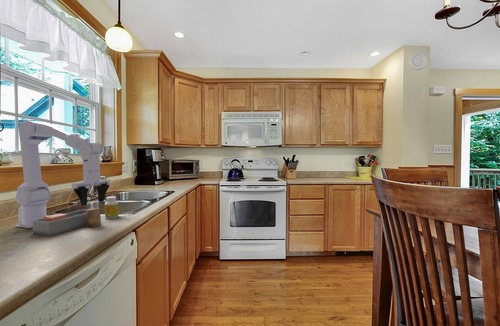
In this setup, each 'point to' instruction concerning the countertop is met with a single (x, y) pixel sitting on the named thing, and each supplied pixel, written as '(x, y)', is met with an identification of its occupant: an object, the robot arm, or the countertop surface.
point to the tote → (60, 224)
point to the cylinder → (93, 217)
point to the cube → (55, 217)
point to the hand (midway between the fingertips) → (93, 203)
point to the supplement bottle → (111, 208)
